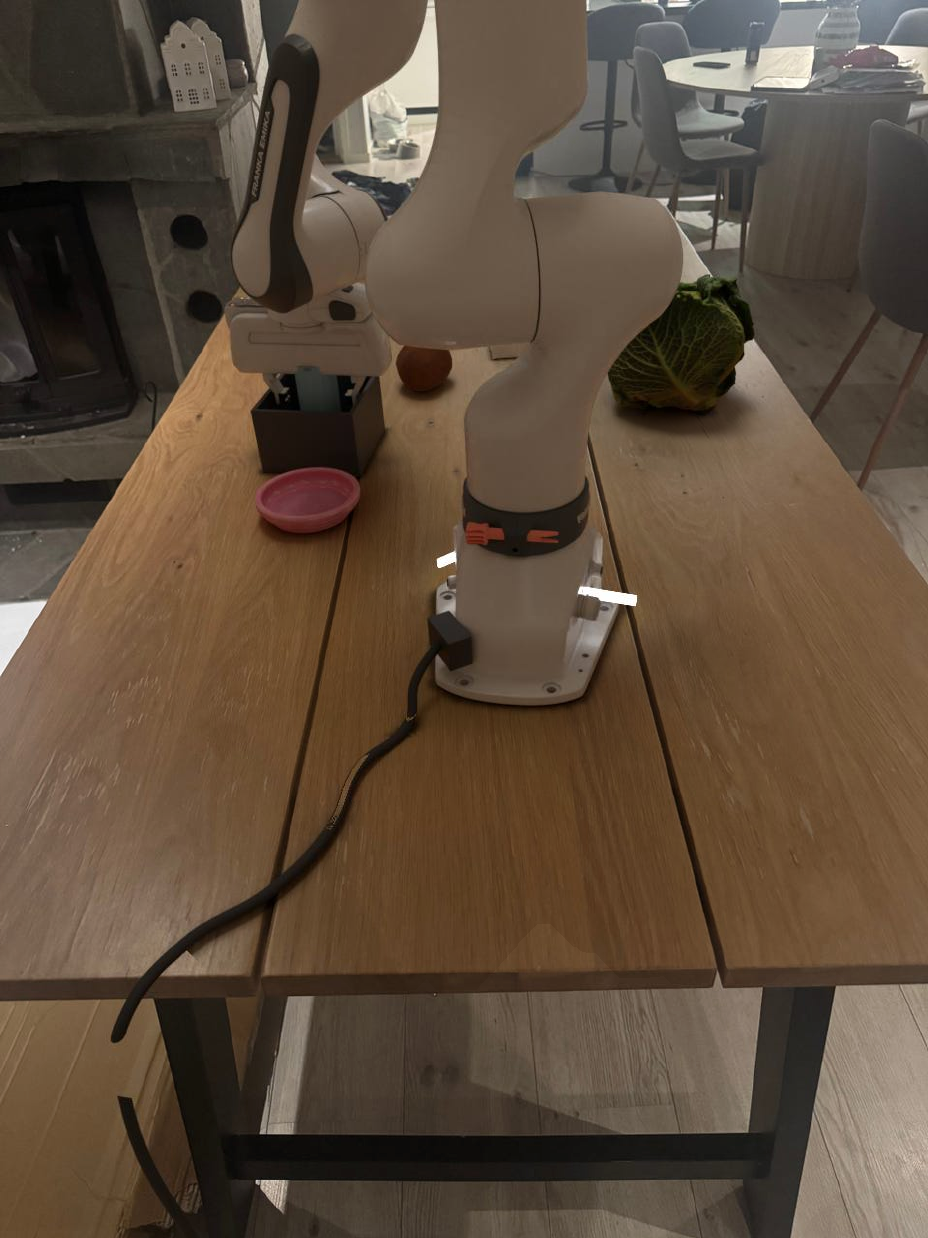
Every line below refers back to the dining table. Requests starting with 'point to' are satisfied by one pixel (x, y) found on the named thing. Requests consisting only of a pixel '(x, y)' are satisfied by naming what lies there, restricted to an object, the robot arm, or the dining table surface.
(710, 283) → the vegetable
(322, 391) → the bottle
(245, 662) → the dining table surface
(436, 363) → the potato
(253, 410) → the box
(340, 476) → the saucer
